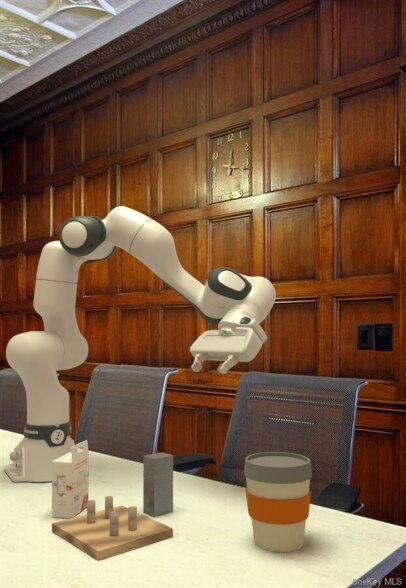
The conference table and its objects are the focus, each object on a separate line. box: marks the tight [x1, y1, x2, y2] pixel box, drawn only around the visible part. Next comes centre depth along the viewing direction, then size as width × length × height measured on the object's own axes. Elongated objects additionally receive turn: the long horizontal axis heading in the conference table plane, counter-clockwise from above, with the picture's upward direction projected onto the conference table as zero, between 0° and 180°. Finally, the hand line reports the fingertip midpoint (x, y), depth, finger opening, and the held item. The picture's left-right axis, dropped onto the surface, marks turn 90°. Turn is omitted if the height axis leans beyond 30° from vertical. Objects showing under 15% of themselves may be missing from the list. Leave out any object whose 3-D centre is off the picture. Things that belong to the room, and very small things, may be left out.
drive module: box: [142, 451, 174, 518], centre depth 116 cm, size 4×5×12 cm
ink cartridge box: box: [51, 439, 90, 519], centre depth 117 cm, size 9×5×15 cm, turn 168°
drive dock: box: [51, 495, 174, 561], centre depth 104 cm, size 18×16×6 cm
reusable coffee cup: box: [243, 451, 313, 553], centre depth 99 cm, size 12×13×15 cm
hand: (207, 371), depth 127 cm, fingers open, 8 cm apart
